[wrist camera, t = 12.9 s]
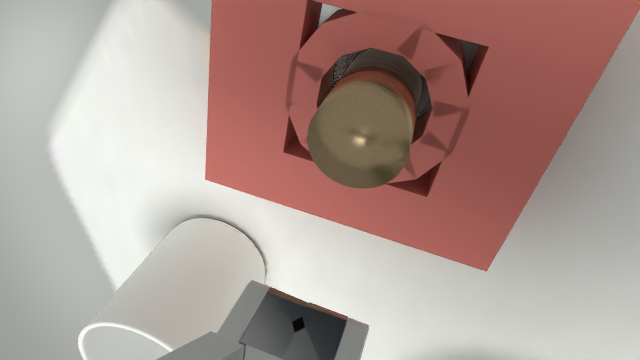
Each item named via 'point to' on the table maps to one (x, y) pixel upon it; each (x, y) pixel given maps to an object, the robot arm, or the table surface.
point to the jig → (430, 129)
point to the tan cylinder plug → (367, 121)
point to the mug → (175, 293)
